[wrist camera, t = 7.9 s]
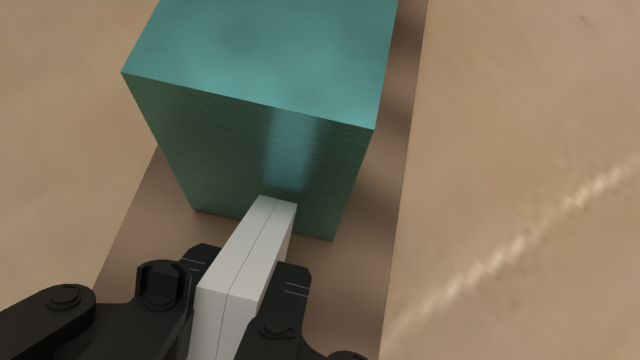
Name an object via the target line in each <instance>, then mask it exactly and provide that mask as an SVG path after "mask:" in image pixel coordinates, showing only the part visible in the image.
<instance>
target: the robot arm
mask: <svg viewBox="0 0 640 360" xmlns="http://www.w3.org/2000/svg"><path fill="white" fill-rule="evenodd" d="M296 209H297V204H296V203H292V202H288V201H284V200H280V199H279V200H278V199H276V198H272V197H267V196H263V195H259V196H258V197H257V199H256V200H255V202H254V203H253V205H252V206H251V208H250V209H249V211H248V212H247V213H246V215H245V216H244V218H243V219H242V221H241V222H240V224H239V225H238V227H237V228H236V229H235V231H234V232H233V234H232V235H231V237H230V238H229V240H228V241H227V242H226V244H225V245H224V247H223V248H221V247H217V246H213V245H209V244H205V243H200V244H198V245H196V246H194V247H191V248H189V249H188V251H187V252H186V253H185V254H184V255H183V256H182V259H180V260H179V261H175V260H167V259H159V260H152V261H148V262H145V263H143V264H141V265H140V266H138V267H137V273H136V284H135V295H134V297H133V298H132V299H131V300H130V301H129V302H128V303H96V296H95V293H94V291H92V290H91V289H90V288H88V287H86V286H83V285H79V284H61V285H55V286H52V287H49V288H46V289H44V290H41V291H39V292H37V293H36V294H34V295H32V296H30V297H28V298H26V299H24V300H22V301H20V302H18V303H16V304H14V305H12V306H10V307H8V308H7V309H5V310H3V311H1V312H0V360H368V359H367V358H366V357H364V356H362V355H360V354H358V353H356V352H351V351H347V350H344V351H336V352H334V353H332V354H330V355H328V357H326V356H324V355H322V354H320V353H318V352H317V351H315V350H314V349H312V348H311V347H310V346H309V345H308V344H307V343H306V341H305V339H304V338H303V335H302V323H303V318H304V314H305V309H306V304H307V299H308V295H309V290H310V285H311V280H312V277H311V274H310V272H309V270H308V268H306V267H302V266H298V265H294V264H290V263H286V262H285V258H286V254H287V249H288V245H289V240H290V236H291V231H292V227H293V222H294V218H295V213H296Z"/></svg>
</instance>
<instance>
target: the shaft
mask: <svg viewBox="0 0 640 360" xmlns="http://www.w3.org/2000/svg"><path fill="white" fill-rule="evenodd" d="M397 6H398V1H396V0H160V1H159V3H158V5H157V6H156V8H155V10H154V12H153V14H152V15H151V17H150V19H149V21H148V23H147V25H146V26H145V28H144V30H143V32H142V34H141V35H140V37H139V39H138V41H137V43H136V44H135V46H134V48H133V50H132V52H131V54H130V55H129V57H128V59H127V61H126V63H125V64H124V66H123V68H122V70H121V74H122V76H123V78H124V80H125V82H126V84H127V85H128V87H129V89H130V91H131V93H132V95H133V97H134V99H135V101H136V103H137V105H138V106H139V108H140V110H141V112H142V114H143V116H144V118H145V120H146V122H147V124H148V126H149V127H150V129H151V131H152V133H153V135H154V137H155V139H156V141H157V143H158V145H159V147H160V148H161V150H162V152H163V154H164V156H165V158H166V160H167V162H168V164H169V166H170V168H171V169H172V171H173V173H174V175H175V177H176V179H177V181H178V183H179V185H180V187H181V189H182V190H183V192H184V194H185V196H186V198H187V200H188V202H189V204H190V206H191V208H192V209H196V210H200V211H204V212H208V213H213V214H217V215H221V216H226V217H230V218H234V219H238V220H242V219H243V218H244V216H245V215H246V213H247V212H248V211H249V209H250V208H251V206H252V205H253V203H254V202H255V200H256V199H257V197H258V196H259V195H263V196H267V197H272V198H276V199H278V200H279V199H280V200H284V201H288V202H292V203H296V204H297V209H296V213H295V218H294V222H293V227H292V231H291V232H294V233H298V234H303V235H307V236H311V237H316V238H320V239H324V240H328V241H333V239H334V237H335V234H336V231H337V229H338V226H339V223H340V221H341V218H342V215H343V213H344V210H345V207H346V205H347V202H348V199H349V197H350V194H351V191H352V189H353V186H354V183H355V181H356V178H357V175H358V173H359V170H360V167H361V165H362V162H363V159H364V157H365V154H366V151H367V149H368V146H369V143H370V141H371V138H372V135H373V133H374V130H375V124H376V119H377V114H378V108H379V103H380V97H381V92H382V87H383V81H384V76H385V70H386V65H387V60H388V54H389V49H390V43H391V38H392V33H393V27H394V22H395V16H396V11H397Z"/></svg>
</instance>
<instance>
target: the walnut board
mask: <svg viewBox="0 0 640 360" xmlns="http://www.w3.org/2000/svg"><path fill="white" fill-rule="evenodd" d="M396 1H398V6H397V11H396V16H395V22H394V27H393V33H392V38H391V43H390V49H389V54H388V60H387V65H386V70H385V76H384V81H383V87H382V92H381V97H380V103H379V108H378V114H377V119H376V124H375V130H374V133H373V135H372V138H371V141H370V143H369V146H368V149H367V151H366V154H365V157H364V159H363V162H362V165H361V167H360V170H359V173H358V175H357V178H356V181H355V183H354V186H353V189H352V191H351V194H350V197H349V199H348V202H347V205H346V207H345V210H344V213H343V215H342V218H341V221H340V223H339V226H338V229H337V231H336V234H335V237H334V239H333V241H328V240H324V239H320V238H316V237H311V236H307V235H303V234H298V233H294V232H291V236H290V240H289V245H288V249H287V254H286V258H285V262H286V263H290V264H294V265H298V266H302V267H306V268H308V270H309V272H310V274H311V277H312V280H311V285H310V290H309V295H308V299H307V304H306V309H305V314H304V318H303V323H302V335H303V338H304V339H305V341H306V343H307V344H308V345H309V346H310V347H311V348H312V349H314V350H315V351H317V352H318V353H320V354H322V355H324V356H326V357H328V355H330V354H332V353H334V352H336V351H344V350H347V351H351V352H356V353H358V354H360V355H362V356H364V357H366V358H367V359H368V360H378V354H379V347H380V340H381V332H382V325H383V318H384V311H385V304H386V297H387V290H388V282H389V275H390V268H391V261H392V254H393V247H394V240H395V232H396V225H397V218H398V211H399V204H400V197H401V190H402V182H403V175H404V168H405V161H406V154H407V147H408V140H409V132H410V125H411V118H412V111H413V104H414V97H415V90H416V82H417V75H418V68H419V61H420V54H421V47H422V40H423V32H424V25H425V18H426V11H427V4H428V0H396ZM241 221H242V220H238V219H234V218H230V217H226V216H221V215H217V214H213V213H208V212H204V211H200V210H196V209H192V208H191V206H190V204H189V202H188V200H187V198H186V196H185V194H184V192H183V190H182V189H181V187H180V185H179V183H178V181H177V179H176V177H175V175H174V173H173V171H172V169H171V168H170V166H169V164H168V162H167V160H166V158H165V156H164V154H163V152H162V150H161V148H160V147H159V145H158V146H157V148H156V150H155V152H154V155H153V157H152V159H151V161H150V163H149V166H148V168H147V170H146V172H145V174H144V177H143V179H142V181H141V183H140V185H139V188H138V190H137V192H136V194H135V196H134V199H133V201H132V203H131V205H130V207H129V210H128V212H127V214H126V216H125V218H124V221H123V223H122V225H121V227H120V229H119V232H118V234H117V236H116V238H115V241H114V243H113V245H112V247H111V249H110V252H109V254H108V256H107V258H106V260H105V263H104V265H103V267H102V269H101V271H100V274H99V276H98V278H97V280H96V282H95V285H94V287H93V289H92V291H94V293H95V296H96V303H128V302H129V301H130V300H131V299H132V298H133V297H134V295H135V284H136V273H137V267H138V266H140V265H141V264H143V263H145V262H148V261H152V260H159V259H167V260H175V261H179V260H180V259H182V256H183V255H184V254H185V253H186V252H187V251H188V249H189V248H191V247H194V246H196V245H198V244H200V243H205V244H209V245H213V246H217V247H221V248H223V247H224V245H225V244H226V242H227V241H228V240H229V238H230V237H231V235H232V234H233V232H234V231H235V229H236V228H237V227H238V225H239V224H240V222H241Z"/></svg>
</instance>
